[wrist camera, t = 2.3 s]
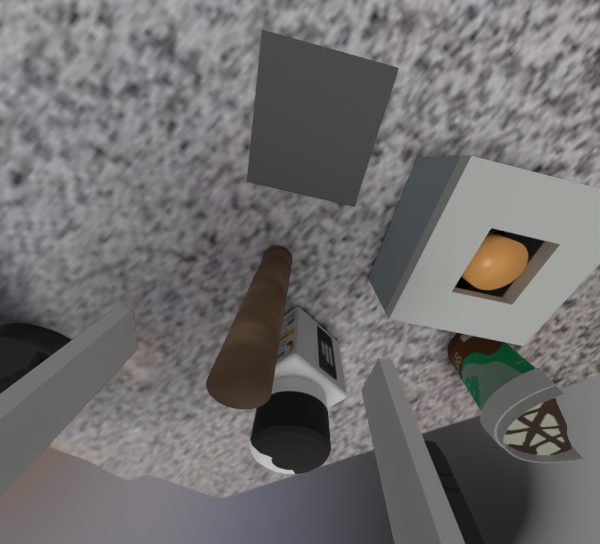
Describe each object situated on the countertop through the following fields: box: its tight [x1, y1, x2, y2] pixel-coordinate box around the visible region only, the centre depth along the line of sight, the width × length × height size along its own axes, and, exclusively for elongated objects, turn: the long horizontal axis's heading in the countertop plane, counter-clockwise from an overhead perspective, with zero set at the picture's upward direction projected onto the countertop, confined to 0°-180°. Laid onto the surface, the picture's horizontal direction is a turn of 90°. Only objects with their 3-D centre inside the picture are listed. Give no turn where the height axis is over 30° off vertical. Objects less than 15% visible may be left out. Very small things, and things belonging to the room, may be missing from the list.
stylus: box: [206, 246, 292, 409], centre depth 17 cm, size 3×3×15 cm
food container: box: [448, 333, 583, 463], centre depth 24 cm, size 12×6×10 cm, turn 35°
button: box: [461, 231, 528, 290], centre depth 17 cm, size 4×4×3 cm
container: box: [249, 307, 347, 474], centre depth 23 cm, size 8×8×13 cm
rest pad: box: [247, 30, 399, 206], centre depth 18 cm, size 10×10×1 cm
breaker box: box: [368, 156, 600, 346], centre depth 19 cm, size 12×12×7 cm
